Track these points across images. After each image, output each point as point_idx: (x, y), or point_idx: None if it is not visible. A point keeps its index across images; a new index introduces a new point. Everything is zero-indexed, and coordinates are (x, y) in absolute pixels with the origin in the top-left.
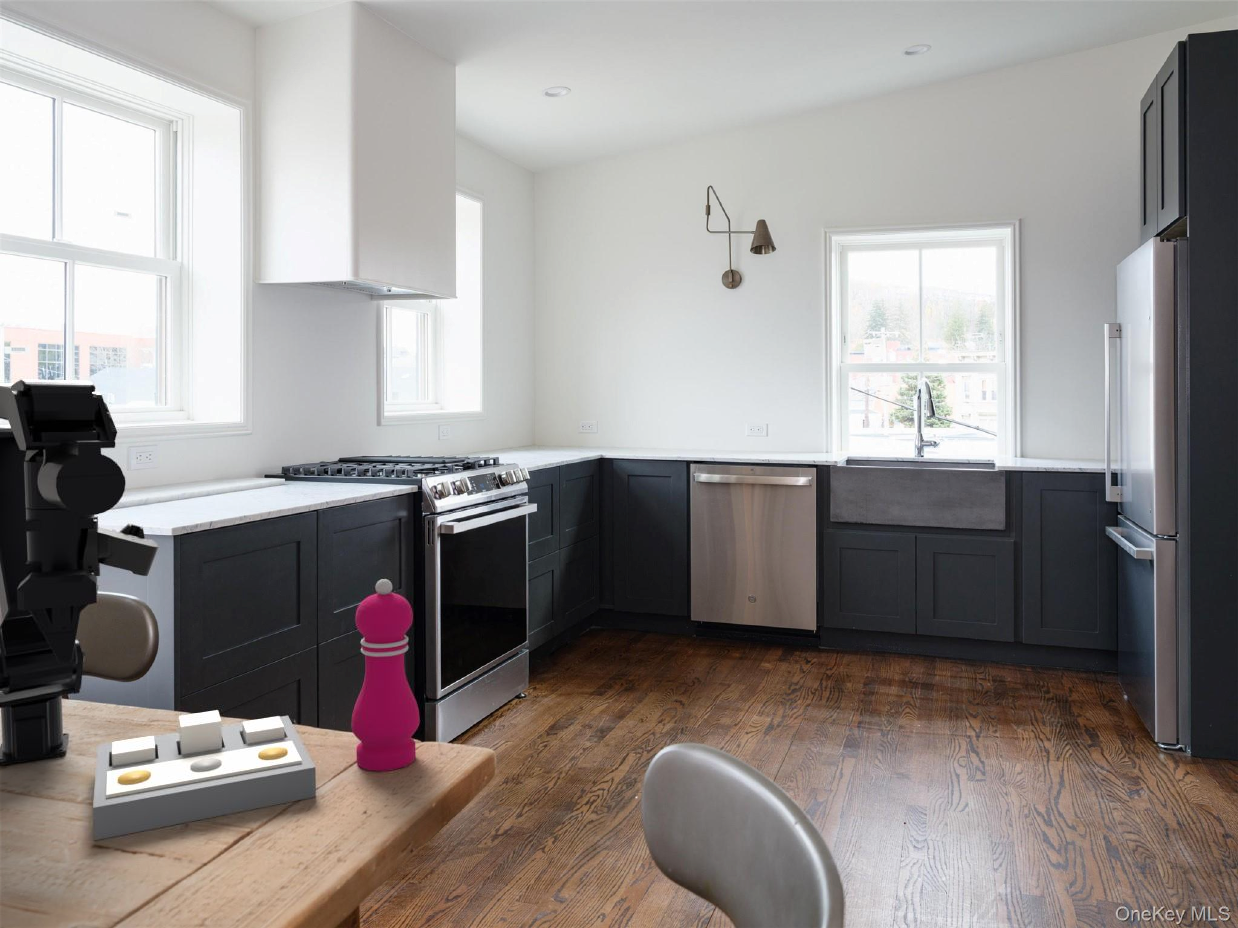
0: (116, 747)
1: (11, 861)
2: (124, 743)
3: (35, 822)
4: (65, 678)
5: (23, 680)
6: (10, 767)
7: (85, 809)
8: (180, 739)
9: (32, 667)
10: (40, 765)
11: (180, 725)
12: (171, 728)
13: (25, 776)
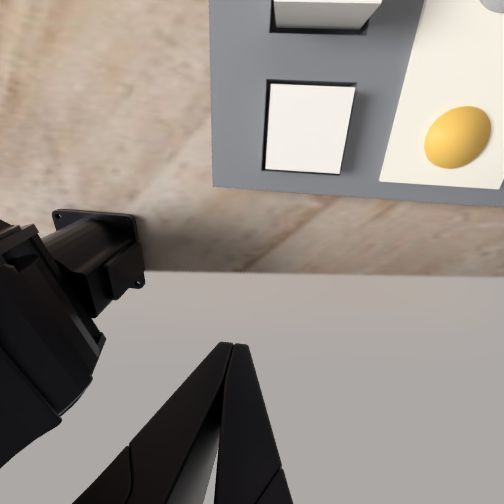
0: (304, 163)
1: (460, 275)
2: (288, 147)
3: (359, 252)
4: (45, 268)
5: (86, 342)
6: (152, 271)
7: (358, 199)
8: (328, 19)
9: (62, 349)
10: (158, 242)
11: (360, 3)
12: (42, 40)
13: (192, 258)
